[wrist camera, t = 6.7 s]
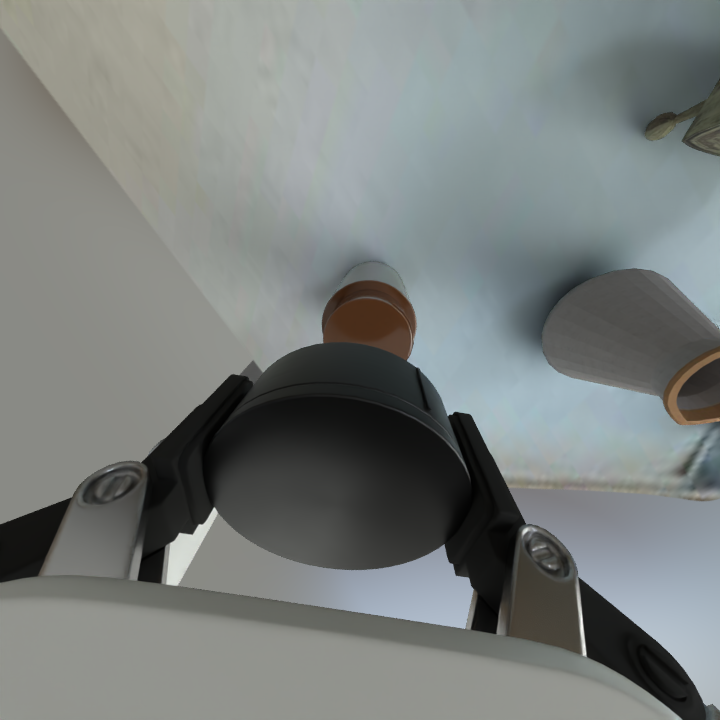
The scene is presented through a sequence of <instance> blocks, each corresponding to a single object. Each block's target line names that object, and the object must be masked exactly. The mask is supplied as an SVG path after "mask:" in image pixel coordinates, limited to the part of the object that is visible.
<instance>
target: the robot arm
mask: <svg viewBox="0 0 720 720" xmlns="http://www.w3.org/2000/svg"><path fill="white" fill-rule="evenodd" d="M252 387H253V382H252V381H249V378H248V377H246V376H240V375H234V374H233V375H230V376H229V377H228V378H227V379H226V380H225V381H224V382H223V383H222V384H221V386H220V387H219V388H218V389H217V390H216V391H215V392H214V393H213V394H212V395H211V396H210V397H209V398H208V399H207V400H206V401H205V402H204V403H203V404H201V405H199V406H198V407H196V408H195V409H194V411H192V412H191V413H190V414H189V415H188V416H187V417H186V418H185V419H184V420H183V421H182V422H181V423H180V425H178V426H177V427H176V428H175V429H174V430H173V431H172V433H170V434H169V435H168V436H167V437H166V438H165V439H164V440H163V441H162V442H161V443H160V444H159V445H158V446H157V447H156V448H155V449H154V450H153V451H152V452H151V453H150V454H149V455H148V456H147V458H146V459H145V460H143V461H142V462H141V463H140V462H138V461H124V462H118V463H115V464H112V465H108V466H106V467H104V468H102V469H100V470H98V471H96V472H95V473H93V474H92V475H90V476H89V477H87V478H86V479H85V480H84V481H83V482H82V483H81V484H80V485H79V486H78V488H77V489H76V491H75V492H74V494H73V497H72V498H69V499H66V500H64V501H61V502H58V503H56V504H53V505H51V506H48V507H45V508H43V509H40V510H37V511H35V512H32V513H29V514H27V515H24V516H22V517H19V518H16V519H14V520H11V521H8V522H6V523H3V524H0V720H720V711H719V710H718V709H717V708H716V707H715V706H714V705H713V704H712V705H708V706H706V705H705V704H704V703H703V701H702V699H701V697H700V695H699V693H698V691H697V689H696V687H695V685H694V684H693V682H692V681H691V679H690V678H689V676H688V675H687V674H686V672H685V670H684V669H683V668H682V667H681V666H680V664H679V663H678V662H677V661H676V660H675V659H674V658H673V656H672V655H671V654H670V653H669V652H668V651H667V650H666V649H664V648H663V647H662V646H661V645H660V644H659V643H658V642H657V641H656V640H654V639H653V638H652V637H651V636H649V635H648V634H647V633H646V632H645V631H643V630H642V629H641V628H640V627H639V626H637V625H636V624H635V623H634V622H633V621H631V620H630V619H629V618H628V617H626V616H625V615H624V614H623V613H622V612H620V611H619V610H618V609H617V608H616V607H614V606H613V605H612V604H611V603H609V602H608V601H607V600H606V599H604V598H603V597H602V596H601V595H600V594H598V593H597V592H596V591H595V590H594V589H592V588H591V587H590V586H589V585H588V584H586V583H585V582H584V581H583V580H581V579H580V578H579V577H578V571H577V567H576V563H575V561H574V559H573V558H572V556H571V554H570V552H569V551H568V550H567V549H566V547H565V546H564V545H563V544H562V543H561V542H560V541H559V540H558V539H557V538H556V537H555V536H554V535H552V534H551V533H549V532H548V531H547V530H545V529H543V528H540V527H539V526H536V525H532V524H527V525H526V523H525V521H524V519H523V517H522V515H521V513H520V511H519V509H518V507H517V505H516V503H515V501H514V499H513V497H512V495H511V493H510V491H509V489H508V487H507V485H506V483H505V481H504V479H503V477H502V475H501V473H500V471H499V469H498V467H497V465H496V463H495V461H494V459H493V457H492V455H491V454H490V452H489V450H488V448H487V446H486V444H485V442H484V440H483V438H482V436H481V434H480V432H479V430H478V428H477V426H476V424H475V422H474V420H473V418H472V416H471V415H470V414H465V413H459V412H454V413H453V415H449V416H448V418H449V421H450V424H451V427H452V429H453V432H454V435H455V437H456V440H457V443H458V445H459V448H460V451H461V454H462V456H463V459H464V462H465V464H466V467H467V470H468V472H469V475H470V479H471V486H472V501H471V506H470V509H469V513H468V515H467V517H466V518H465V520H464V522H463V524H462V525H461V527H460V528H459V530H458V531H457V533H456V534H455V535H454V536H453V537H452V538H451V539H450V540H449V541H448V542H446V543H445V548H446V553H447V557H448V560H449V562H450V563H452V564H453V565H454V570H455V574H456V576H462V577H469V579H470V583H471V586H472V587H473V589H474V591H473V595H472V600H471V605H470V609H469V614H468V619H467V623H466V628H465V629H461V628H455V627H448V626H442V625H436V624H429V623H422V622H415V621H410V620H403V619H397V618H390V617H384V616H378V615H371V614H364V613H358V612H351V611H344V610H337V609H331V608H324V607H318V606H311V605H304V604H297V603H291V602H284V601H277V600H270V599H264V598H257V597H250V596H243V595H236V594H229V593H221V592H215V591H208V590H202V589H194V588H187V587H181V586H178V584H179V582H180V580H181V579H182V577H183V575H184V573H185V571H186V570H187V568H188V566H189V564H190V563H191V561H192V559H193V557H194V555H195V554H196V552H197V550H198V548H199V546H200V544H201V543H202V541H203V539H204V537H205V535H206V534H207V532H208V530H209V528H210V527H211V525H212V523H213V521H214V519H215V518H216V516H217V514H218V512H217V510H216V509H215V507H214V506H213V504H212V503H211V501H210V498H209V496H208V494H207V492H206V487H205V483H204V477H203V463H204V457H205V454H206V451H207V448H208V445H209V444H210V442H211V440H212V439H213V437H214V435H215V434H216V433H217V431H218V430H219V429H220V428H221V426H222V425H223V424H224V423H225V421H226V420H227V419H228V417H229V416H230V415H231V413H232V412H233V411H234V410H235V408H236V407H237V406H238V404H239V403H240V402H241V401H242V399H243V398H244V397H245V396H246V394H247V393H248V392H249V390H250V389H251V388H252Z"/></svg>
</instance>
